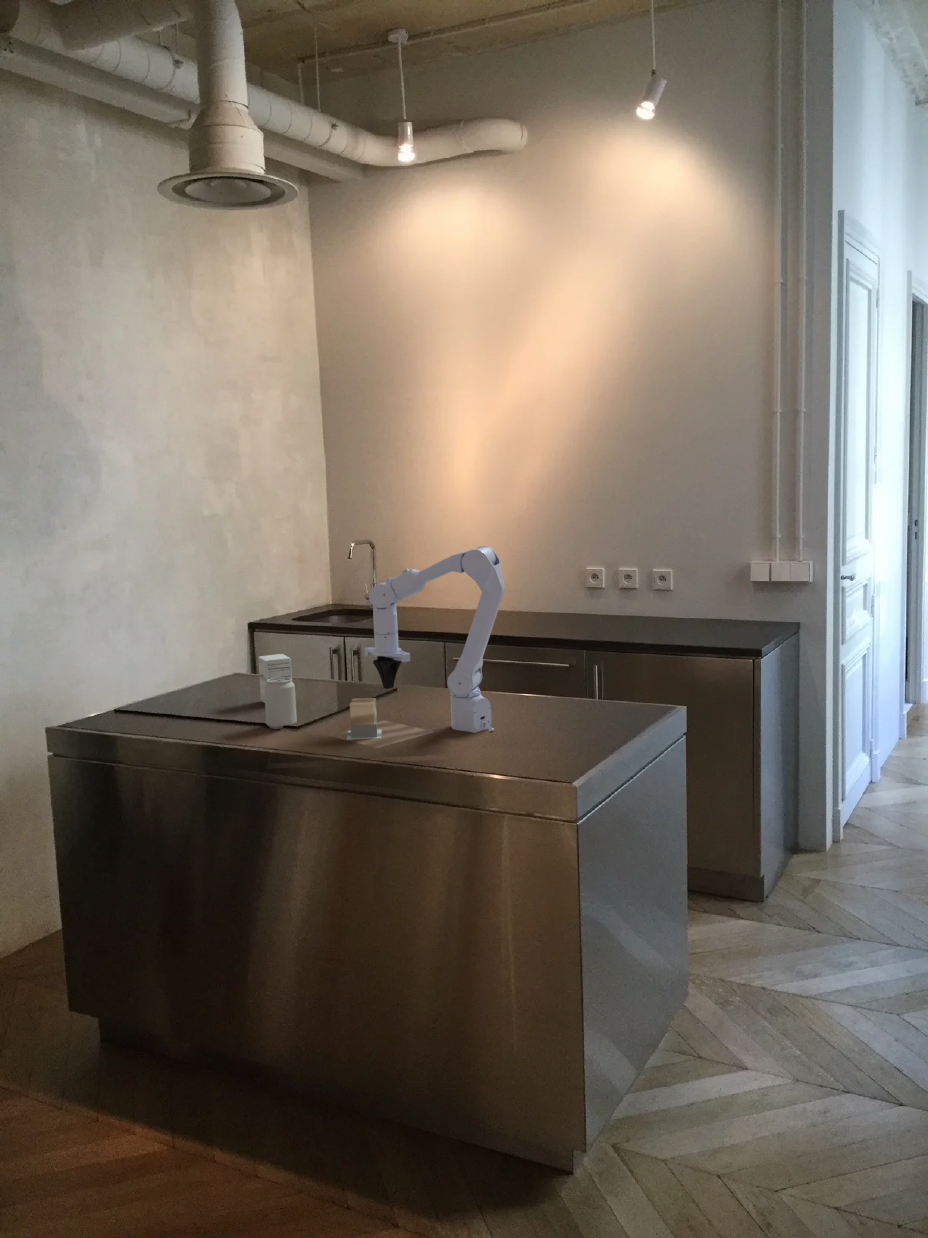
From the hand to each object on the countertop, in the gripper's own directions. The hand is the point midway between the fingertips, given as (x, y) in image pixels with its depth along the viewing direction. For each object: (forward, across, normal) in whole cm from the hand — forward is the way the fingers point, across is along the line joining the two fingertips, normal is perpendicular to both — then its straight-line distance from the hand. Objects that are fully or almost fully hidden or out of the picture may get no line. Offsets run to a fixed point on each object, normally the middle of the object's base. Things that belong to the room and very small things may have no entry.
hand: (388, 688), depth 266 cm
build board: (+10, -5, +7) cm, 13 cm away
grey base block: (+9, -3, +10) cm, 14 cm away
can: (+10, +23, +16) cm, 30 cm away
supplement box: (+10, +46, +1) cm, 47 cm away
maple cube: (+6, -3, +10) cm, 12 cm away
